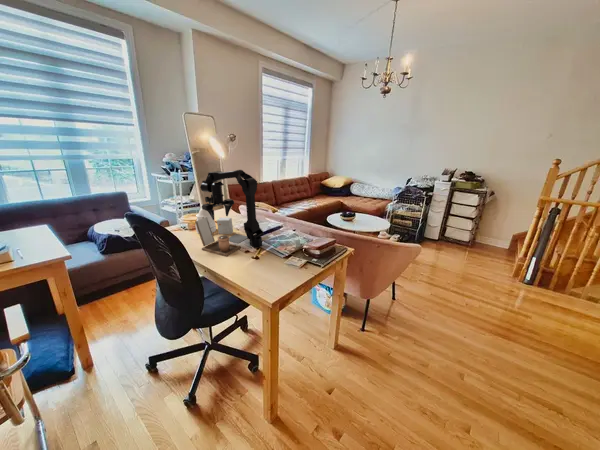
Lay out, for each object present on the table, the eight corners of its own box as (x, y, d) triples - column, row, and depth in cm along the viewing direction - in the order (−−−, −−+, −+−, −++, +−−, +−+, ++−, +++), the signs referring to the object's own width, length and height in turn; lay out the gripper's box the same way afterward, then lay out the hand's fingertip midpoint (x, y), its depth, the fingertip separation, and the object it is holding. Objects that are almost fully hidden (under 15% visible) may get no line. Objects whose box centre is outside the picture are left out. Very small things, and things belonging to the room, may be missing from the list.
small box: (233, 232, 165) (231, 217, 161) (230, 235, 160) (228, 220, 156) (222, 232, 166) (220, 217, 162) (218, 235, 160) (216, 220, 157)
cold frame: (241, 249, 140) (238, 221, 134) (226, 258, 130) (222, 228, 124) (210, 241, 150) (207, 215, 144) (195, 249, 140) (190, 221, 134)
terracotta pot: (232, 248, 139) (231, 236, 136) (225, 253, 133) (223, 240, 131) (224, 246, 141) (223, 234, 139) (216, 250, 136) (215, 238, 133)
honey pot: (196, 228, 172) (192, 204, 165) (215, 226, 176) (212, 202, 170) (196, 235, 160) (192, 209, 154) (216, 232, 164) (213, 207, 158)
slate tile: (249, 238, 155) (249, 236, 154) (238, 244, 146) (238, 243, 145) (236, 235, 159) (236, 233, 159) (224, 241, 150) (224, 239, 150)
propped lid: (206, 217, 142) (206, 217, 142) (195, 221, 135) (194, 221, 136) (214, 241, 145) (214, 241, 145) (204, 246, 138) (203, 246, 139)
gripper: (223, 188, 156) (226, 212, 161) (195, 194, 143) (199, 219, 148) (233, 190, 149) (236, 215, 154) (205, 196, 136) (209, 222, 141)
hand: (220, 218), depth 150 cm, fingers open, 9 cm apart
